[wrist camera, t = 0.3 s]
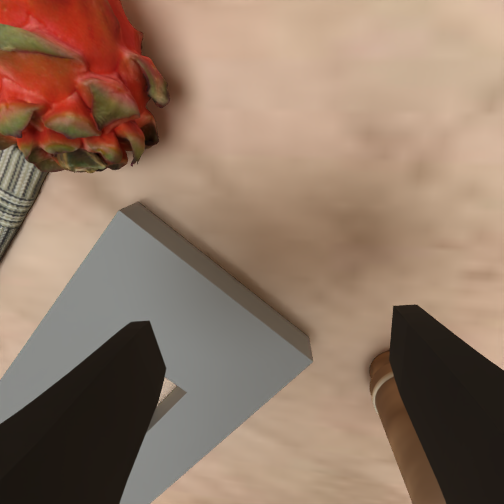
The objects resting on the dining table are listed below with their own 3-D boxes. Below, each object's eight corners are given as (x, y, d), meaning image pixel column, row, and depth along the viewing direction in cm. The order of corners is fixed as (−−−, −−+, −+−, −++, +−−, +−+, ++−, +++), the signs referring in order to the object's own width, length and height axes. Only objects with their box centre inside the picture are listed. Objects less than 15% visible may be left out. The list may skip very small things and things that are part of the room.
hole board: (146, 484, 27) (134, 517, 25) (0, 394, 25) (-28, 420, 23) (308, 337, 21) (313, 361, 19) (138, 201, 19) (118, 210, 17)
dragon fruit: (176, 177, 20) (48, 22, 19) (242, 67, 13) (50, -175, 13) (44, 247, 15) (-141, 38, 14) (44, 124, 8) (-307, -288, 7)
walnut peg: (391, 404, 23) (460, 560, 14) (349, 371, 22) (395, 514, 14) (438, 368, 21) (546, 516, 13) (395, 332, 21) (479, 463, 12)
